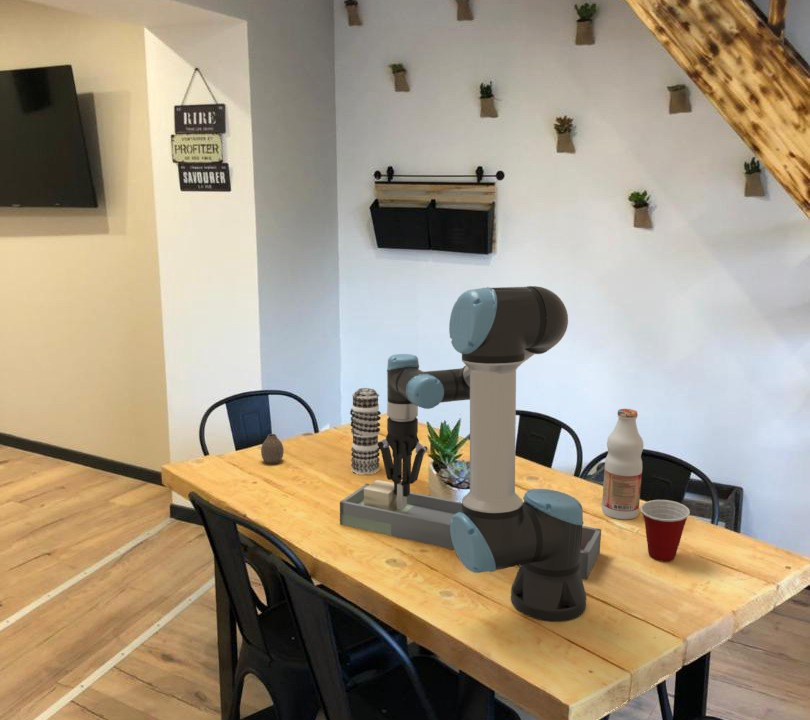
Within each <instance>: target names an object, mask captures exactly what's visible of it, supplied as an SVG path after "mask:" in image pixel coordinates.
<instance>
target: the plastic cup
mask: <svg viewBox="0 0 810 720" xmlns="http://www.w3.org/2000/svg"><path fill="white" fill-rule="evenodd" d="M639 510H640V513H642V515H643V519H644V525H645V526H644V527H645V535H646V537H645V538H646V542H647V543H646V544H647V552H648V556H649V558H650V559H652V560H655V561H659V562H673V561H674V560H675V557H676V555H677V551H678V548H679V546H680V543H681V539H682V535H683V532H684V530H685V529H684V528H685V525H686V523H687V522H686V521H687V519H688V518H689V516H690V515H691V514H690V513H691V511H690V508H688V507H687V506H686V505H685V504H682V503H681V502H678V501H674V500H668V499H653V500H649V501H648V500H647V501H646V502H643V503H641V505H639Z"/></svg>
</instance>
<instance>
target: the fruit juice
mask: <svg viewBox="0 0 810 720" xmlns="http://www.w3.org/2000/svg"><path fill="white" fill-rule="evenodd" d="M617 410H618V411H617V418H618V419H617V422H616V425H615V427H614V428H613V430H612V432H611V433H610V434H609V436H608V437H607V441H606V442H607V443H606V447H607V451H608V452H607V455H606V457H605V460H604V461H605V462H604V469H603V470H604V472H603V486H602V498H601V499H602V500H601V512H602V513H603V514H604V515H605V516H607V517H610V518H613V519H616V520H617V519H618V520H631V519H636V518H637V517H638V515H639V511H640V499H641V490H642V489H641V488H642V487H641V486H642V474H643V460H642V452H643V450H644V440H643V438H642V436H641V434H640V432H639V430H638V427H637V419H638V411H637V410H635V409H633V408H619V409H617Z"/></svg>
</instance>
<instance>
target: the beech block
mask: <svg viewBox="0 0 810 720" xmlns="http://www.w3.org/2000/svg"><path fill="white" fill-rule="evenodd" d="M369 484H370V485H369V486H367V487H366V488H364V505H366V506H371V507H375V508H380V509H385V510H390V511H396V510H397V495H395V494H394V482H390V481H384V480H380V479H376V480H375V481H373V482H372V483H369Z"/></svg>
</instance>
